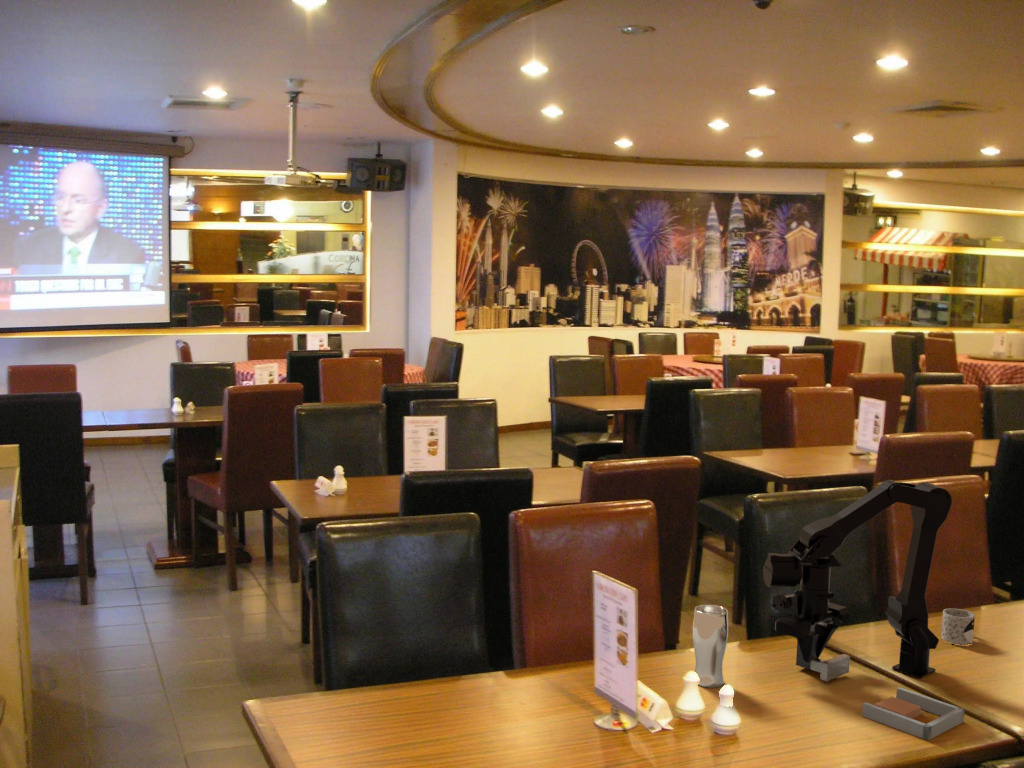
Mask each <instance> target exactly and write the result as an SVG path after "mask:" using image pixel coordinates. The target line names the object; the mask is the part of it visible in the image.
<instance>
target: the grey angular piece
mask: <svg viewBox="0 0 1024 768" xmlns="http://www.w3.org/2000/svg"><path fill="white" fill-rule="evenodd" d="M796 641H797V642H796V657H795V665H796V666H798V667H801V668H804V669H805V670H812V671H814V672H818V673H820V677H819V679H820V680H822V681H824V682H829V681H831V680H834V679H837V678H839V677H842V676H843V675H846V674H849V673H850V659H851V656H850V655H849V654H845V653H842V654H839V655H836V656H835V657H832V658H829V659H826V660H824V659H821V658H820V657H819V658H817V651H818V639H817V641H816V644H815V647H814V650H813V653H812V656H811V658H810V661H809V662H806V661H804V659H803V656H802V653H801V649H800V646H799V643H798V640H797V639H796Z"/></svg>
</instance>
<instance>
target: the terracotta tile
mask: <svg viewBox="0 0 1024 768" xmlns="http://www.w3.org/2000/svg"><path fill="white" fill-rule="evenodd" d="M874 705H875V706H878V707H881V708H883V709H886V710H889V711H892V712H894V713H897V714H900V715H903V716H905V717H908V718H911V719H915V718H917V717H919V716H921V714H922V712H921V711H922V709H921V706H918V705H915V704H912V703H909V702H906V701H903V700H901V699H898V698H896V697H894V696H889V697H888V698H885V699H883V700H881V701H879V702H876V703H874Z"/></svg>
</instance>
